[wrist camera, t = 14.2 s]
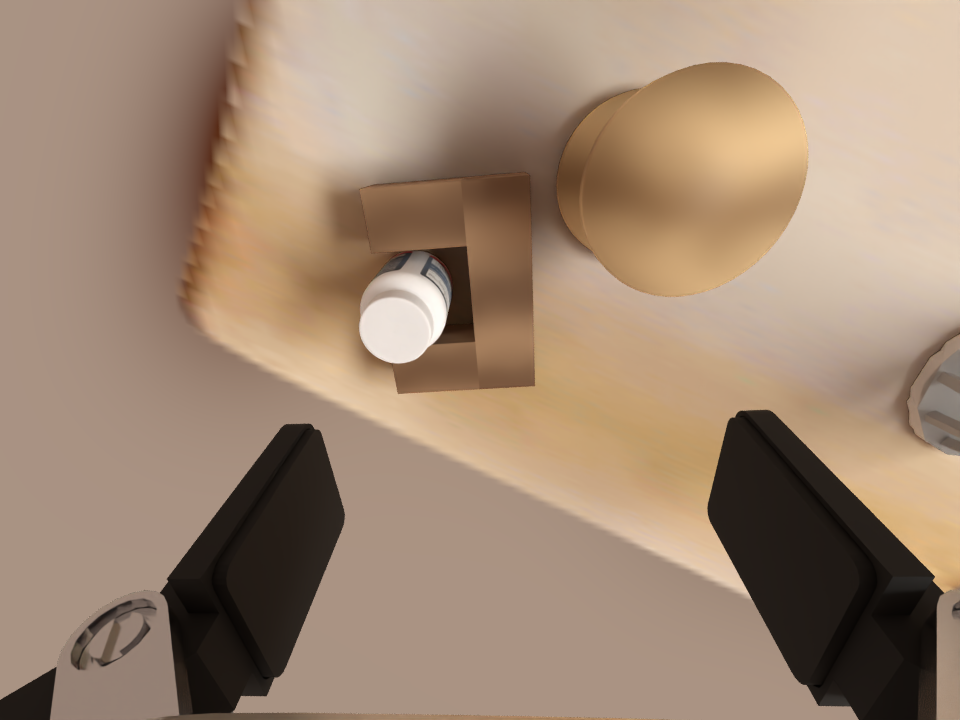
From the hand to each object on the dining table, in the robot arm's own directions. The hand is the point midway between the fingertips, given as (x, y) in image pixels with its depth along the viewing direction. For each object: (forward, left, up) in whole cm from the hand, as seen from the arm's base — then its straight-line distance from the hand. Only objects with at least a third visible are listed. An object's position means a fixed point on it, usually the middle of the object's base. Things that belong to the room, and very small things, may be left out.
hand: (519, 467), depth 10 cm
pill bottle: (+2, -6, -23) cm, 23 cm away
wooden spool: (-4, +9, -22) cm, 24 cm away
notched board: (+2, -3, -22) cm, 23 cm away
